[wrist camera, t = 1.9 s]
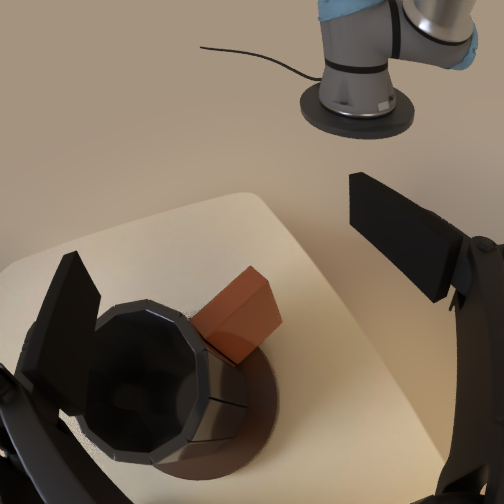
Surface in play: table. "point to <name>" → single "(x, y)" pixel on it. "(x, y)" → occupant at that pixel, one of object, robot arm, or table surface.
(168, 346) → the mug
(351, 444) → the table surface
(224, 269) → the table surface
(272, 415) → the turntable
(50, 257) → the table surface
